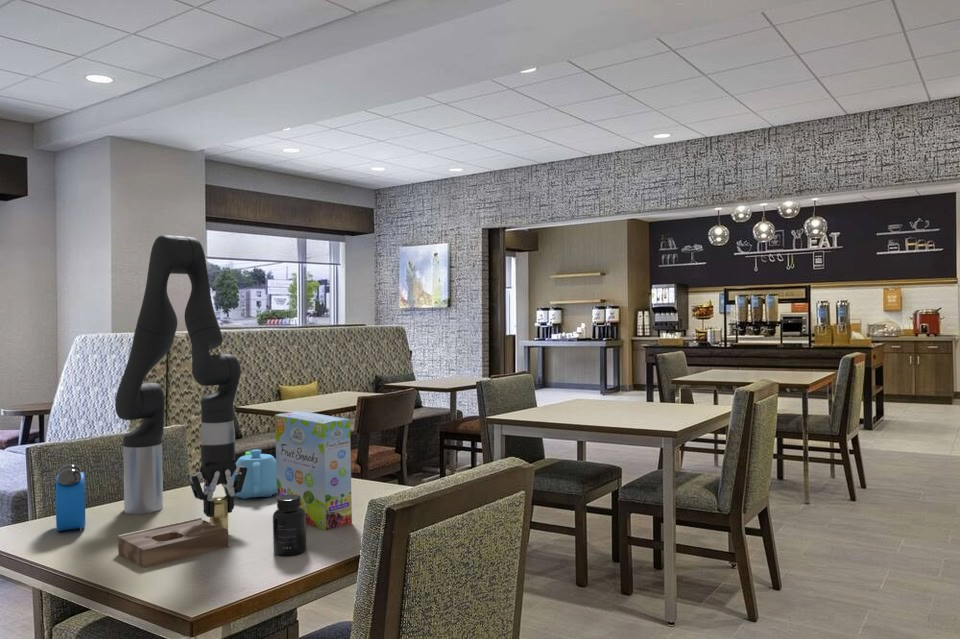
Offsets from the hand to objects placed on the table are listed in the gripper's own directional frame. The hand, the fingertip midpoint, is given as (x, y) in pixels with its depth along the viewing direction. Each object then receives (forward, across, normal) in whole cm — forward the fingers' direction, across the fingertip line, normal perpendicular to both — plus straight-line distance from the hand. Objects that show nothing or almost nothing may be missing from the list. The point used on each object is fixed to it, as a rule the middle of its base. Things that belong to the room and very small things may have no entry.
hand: (218, 513), depth 170 cm
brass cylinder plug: (+4, 0, 0) cm, 4 cm away
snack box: (+5, -21, +7) cm, 23 cm away
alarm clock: (+5, +22, -30) cm, 38 cm away
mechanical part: (+5, -40, -51) cm, 65 cm away
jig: (+4, +13, +6) cm, 15 cm away
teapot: (+5, -27, -26) cm, 38 cm away
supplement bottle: (+5, -3, +25) cm, 26 cm away
